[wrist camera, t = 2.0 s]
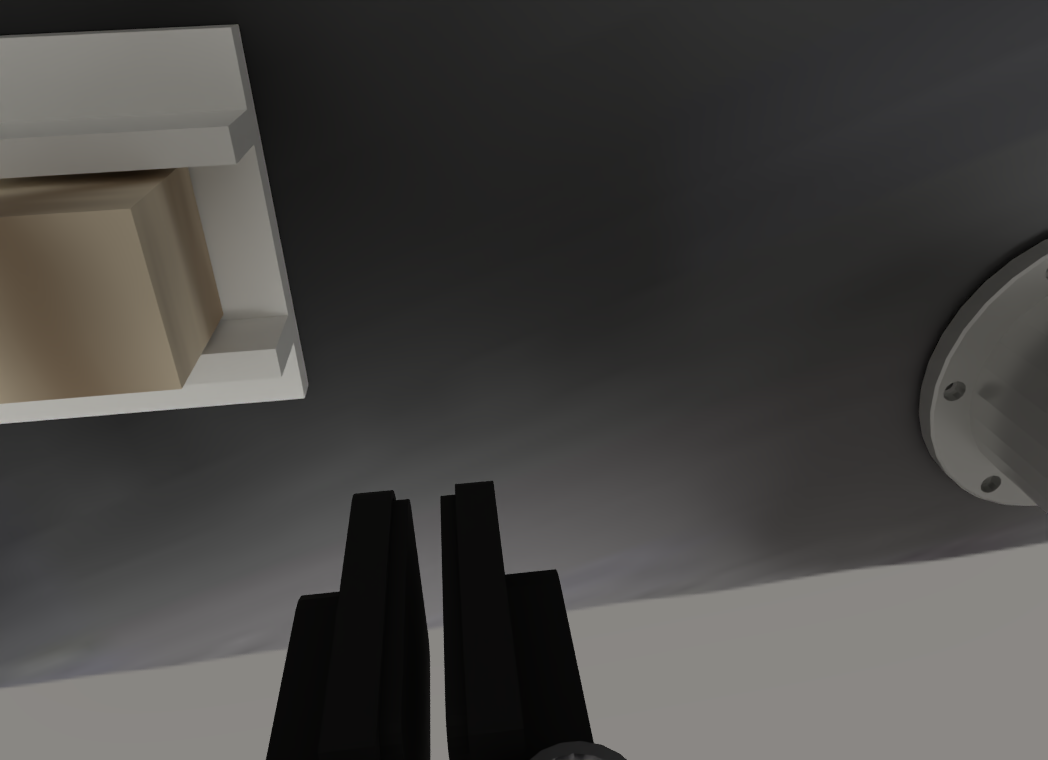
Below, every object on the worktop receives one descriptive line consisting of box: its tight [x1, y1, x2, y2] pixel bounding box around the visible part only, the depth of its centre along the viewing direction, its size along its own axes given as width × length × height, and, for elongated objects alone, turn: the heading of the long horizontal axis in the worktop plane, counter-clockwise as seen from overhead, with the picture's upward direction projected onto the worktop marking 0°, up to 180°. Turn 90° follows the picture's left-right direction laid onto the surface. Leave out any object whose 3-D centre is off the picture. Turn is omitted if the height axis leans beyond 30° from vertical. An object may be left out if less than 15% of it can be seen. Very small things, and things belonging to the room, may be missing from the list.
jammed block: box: [0, 167, 223, 404], centre depth 22 cm, size 5×5×5 cm
